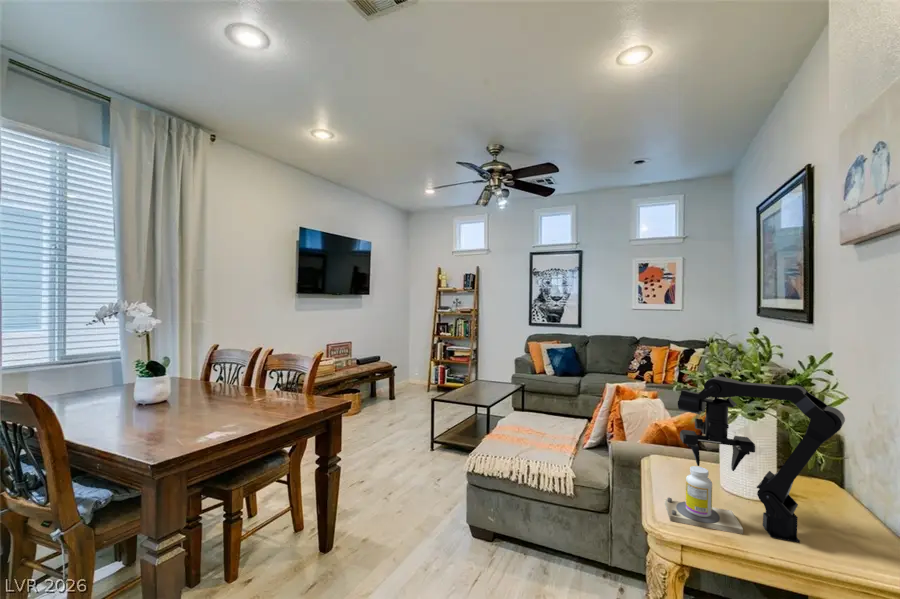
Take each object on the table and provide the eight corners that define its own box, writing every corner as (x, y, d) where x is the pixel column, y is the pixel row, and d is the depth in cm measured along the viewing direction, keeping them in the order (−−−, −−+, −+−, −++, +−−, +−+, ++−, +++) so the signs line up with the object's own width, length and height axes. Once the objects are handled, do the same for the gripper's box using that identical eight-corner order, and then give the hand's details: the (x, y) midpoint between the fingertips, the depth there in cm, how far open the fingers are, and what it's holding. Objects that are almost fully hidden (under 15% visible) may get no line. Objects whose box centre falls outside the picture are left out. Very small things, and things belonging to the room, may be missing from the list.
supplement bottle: (695, 504, 123) (697, 463, 123) (716, 515, 117) (718, 472, 117) (680, 508, 121) (681, 466, 120) (700, 520, 115) (701, 475, 114)
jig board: (730, 514, 121) (731, 506, 121) (743, 535, 110) (743, 526, 110) (664, 503, 127) (664, 495, 127) (670, 521, 117) (670, 513, 117)
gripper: (743, 414, 127) (741, 462, 128) (677, 407, 134) (676, 453, 134) (756, 425, 117) (755, 477, 117) (684, 417, 123) (683, 467, 124)
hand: (715, 467), depth 123 cm, fingers open, 9 cm apart
